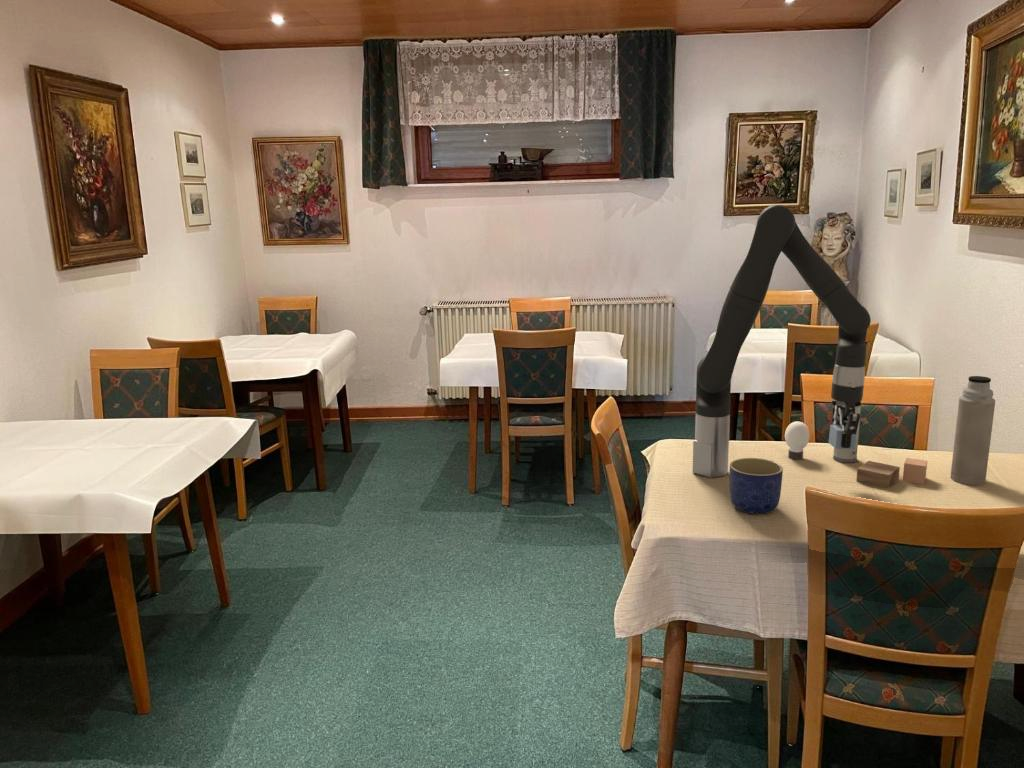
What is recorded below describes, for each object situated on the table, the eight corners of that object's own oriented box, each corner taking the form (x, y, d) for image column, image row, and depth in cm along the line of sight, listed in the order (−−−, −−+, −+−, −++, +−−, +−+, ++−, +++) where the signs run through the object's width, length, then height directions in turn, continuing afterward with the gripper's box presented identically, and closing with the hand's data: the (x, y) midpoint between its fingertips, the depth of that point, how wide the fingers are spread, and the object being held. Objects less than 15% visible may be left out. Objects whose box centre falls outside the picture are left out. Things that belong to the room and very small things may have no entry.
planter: (731, 495, 191) (732, 455, 188) (781, 501, 186) (784, 460, 184) (725, 514, 180) (726, 472, 177) (779, 520, 175) (781, 477, 172)
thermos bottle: (948, 472, 201) (959, 373, 194) (983, 476, 198) (995, 374, 191) (952, 482, 194) (963, 379, 187) (987, 486, 191) (1000, 381, 184)
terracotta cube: (923, 484, 194) (925, 466, 193) (902, 480, 197) (904, 463, 196) (925, 478, 198) (927, 460, 197) (904, 475, 201) (906, 457, 200)
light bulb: (783, 460, 215) (785, 424, 213) (784, 452, 221) (786, 417, 219) (807, 462, 213) (810, 425, 210) (808, 454, 219) (810, 419, 216)
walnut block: (888, 489, 192) (889, 475, 191) (856, 482, 197) (857, 468, 196) (898, 481, 197) (899, 467, 196) (867, 474, 203) (868, 460, 202)
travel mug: (860, 463, 210) (865, 395, 206) (835, 462, 212) (840, 395, 207) (854, 456, 216) (860, 390, 212) (831, 455, 218) (835, 389, 213)
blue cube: (854, 448, 192) (856, 430, 191) (835, 448, 193) (837, 430, 192) (847, 442, 197) (849, 425, 196) (828, 442, 198) (830, 424, 196)
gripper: (823, 375, 198) (818, 435, 202) (843, 388, 184) (836, 452, 188) (852, 375, 198) (846, 436, 202) (874, 388, 184) (866, 453, 188)
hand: (841, 443), depth 195 cm, fingers closed on blue cube, 5 cm apart
